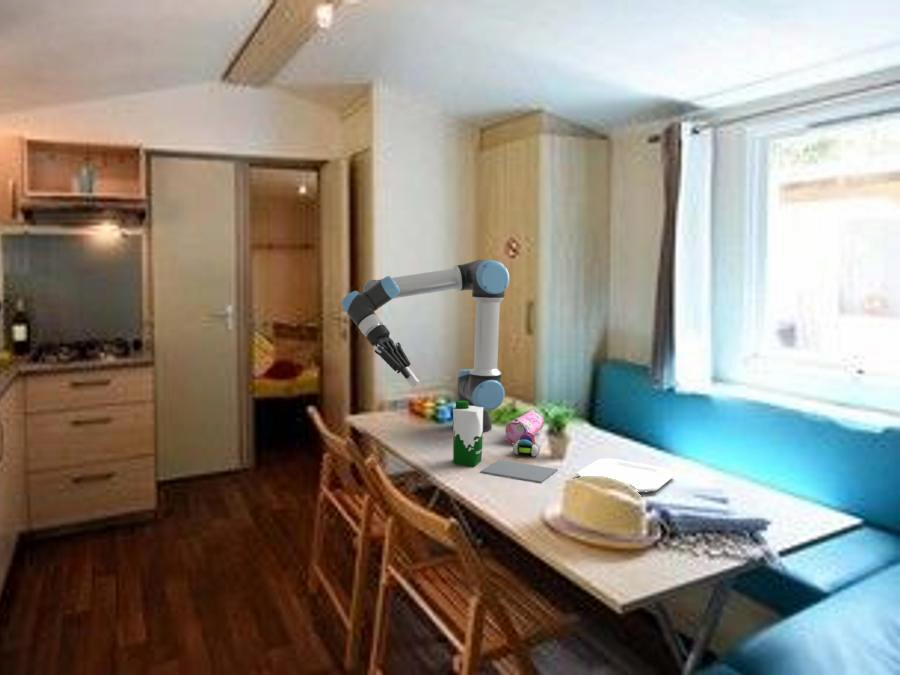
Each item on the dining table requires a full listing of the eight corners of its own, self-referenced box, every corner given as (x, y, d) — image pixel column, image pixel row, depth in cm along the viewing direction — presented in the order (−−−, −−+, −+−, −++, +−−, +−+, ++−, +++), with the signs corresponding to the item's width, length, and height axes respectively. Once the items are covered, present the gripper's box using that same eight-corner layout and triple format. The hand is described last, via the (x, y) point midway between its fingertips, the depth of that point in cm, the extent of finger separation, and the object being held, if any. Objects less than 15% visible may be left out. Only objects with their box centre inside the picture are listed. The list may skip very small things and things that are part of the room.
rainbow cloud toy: (541, 451, 241) (542, 430, 240) (535, 459, 232) (536, 437, 231) (517, 449, 244) (518, 428, 243) (510, 456, 235) (511, 435, 234)
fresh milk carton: (458, 457, 232) (459, 398, 230) (485, 460, 229) (486, 400, 227) (449, 465, 224) (450, 403, 222) (476, 468, 221) (477, 405, 218)
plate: (602, 462, 230) (602, 456, 229) (679, 477, 216) (679, 470, 215) (570, 482, 209) (570, 475, 209) (652, 499, 195) (652, 492, 195)
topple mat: (480, 472, 217) (480, 470, 216) (499, 461, 229) (499, 459, 229) (541, 483, 207) (541, 481, 207) (557, 470, 220) (557, 469, 219)
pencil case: (526, 446, 247) (527, 421, 246) (502, 443, 251) (502, 418, 250) (545, 433, 266) (546, 409, 265) (522, 430, 270) (523, 407, 269)
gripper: (379, 336, 246) (419, 388, 240) (356, 339, 234) (398, 394, 228) (391, 322, 242) (433, 374, 236) (370, 325, 231) (412, 380, 225)
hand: (416, 384), depth 232 cm, fingers closed
